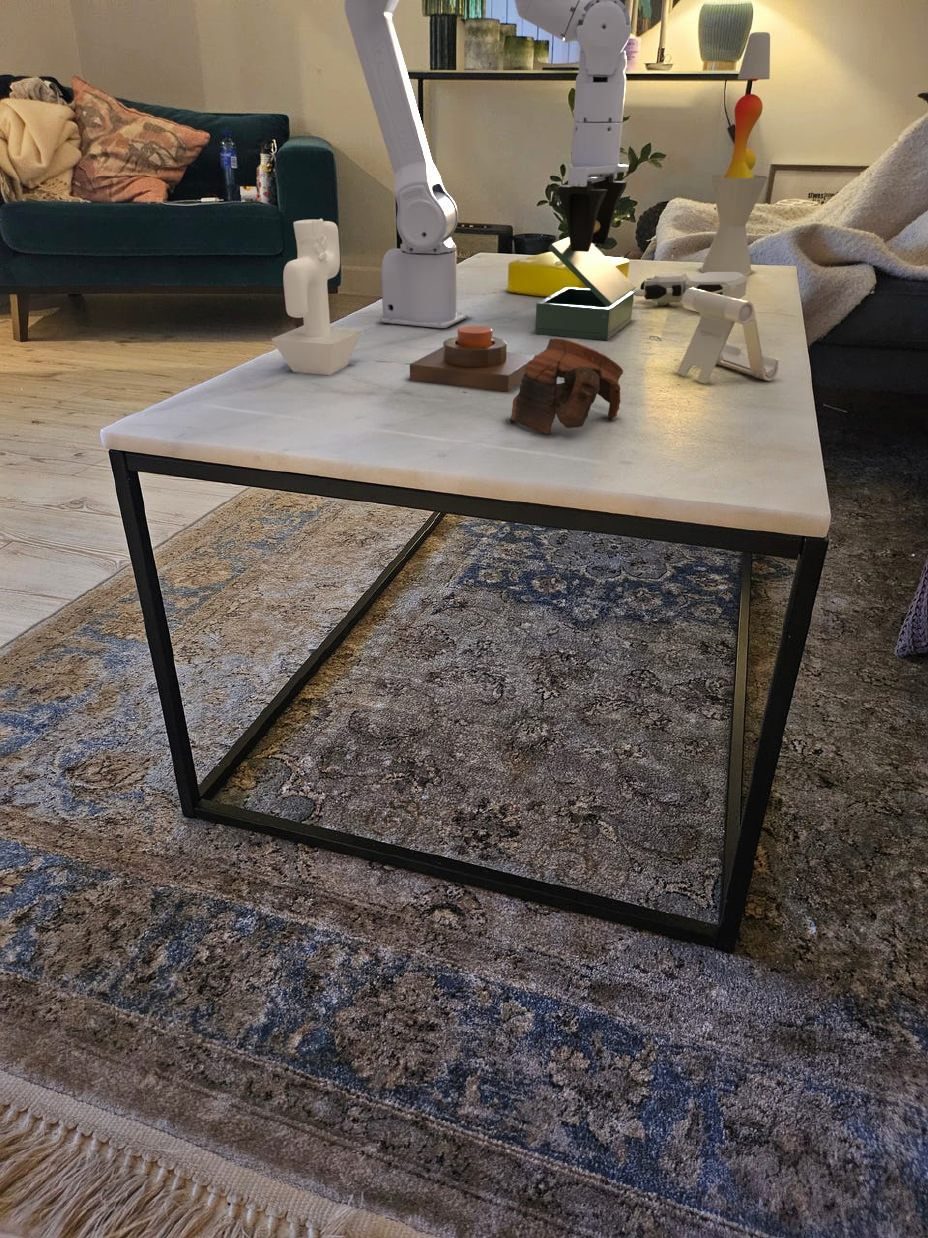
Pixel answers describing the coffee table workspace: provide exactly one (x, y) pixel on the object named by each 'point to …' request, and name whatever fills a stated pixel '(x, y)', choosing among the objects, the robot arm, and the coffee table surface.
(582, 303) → the enamel box
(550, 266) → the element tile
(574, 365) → the brown arched sculpture
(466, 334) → the button
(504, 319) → the coffee table surface
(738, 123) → the lava lamp
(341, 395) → the coffee table surface
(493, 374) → the control block
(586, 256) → the lid
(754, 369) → the tablet stand
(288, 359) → the figurine
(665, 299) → the robot toy
